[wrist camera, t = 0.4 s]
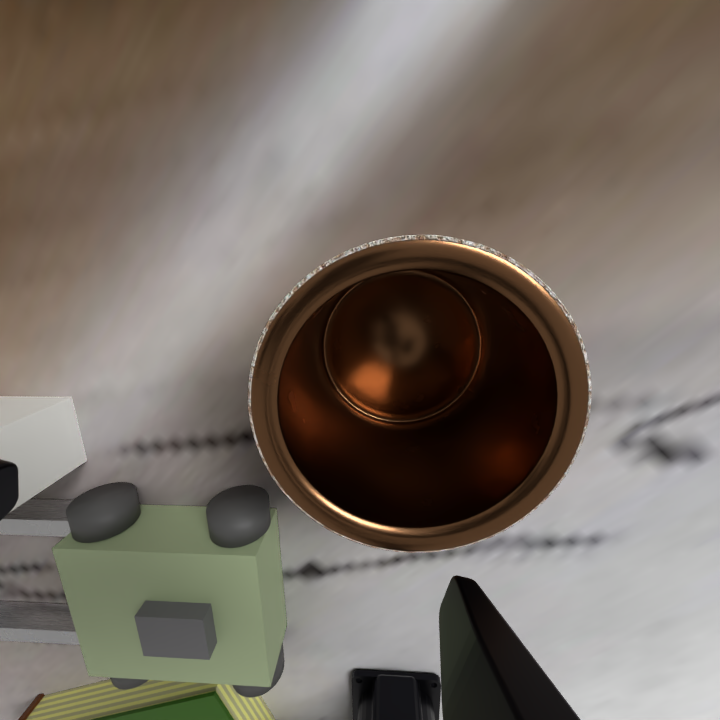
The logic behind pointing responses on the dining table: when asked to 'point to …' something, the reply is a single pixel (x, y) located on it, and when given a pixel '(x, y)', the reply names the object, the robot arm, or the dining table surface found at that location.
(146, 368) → the dining table surface
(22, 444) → the chute block
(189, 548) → the green wheeled cart
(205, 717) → the hardcover book
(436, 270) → the planter
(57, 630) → the gray rectangular open frame
